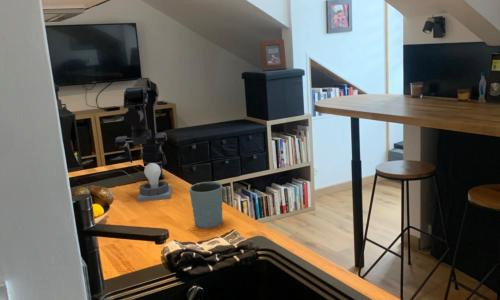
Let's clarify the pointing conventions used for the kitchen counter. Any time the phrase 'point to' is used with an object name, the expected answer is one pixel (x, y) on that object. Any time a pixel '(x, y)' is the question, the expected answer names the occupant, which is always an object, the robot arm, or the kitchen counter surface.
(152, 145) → the robot arm
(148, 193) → the bulb holder
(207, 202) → the blue-grey cup
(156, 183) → the lightbulb
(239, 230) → the kitchen counter surface
